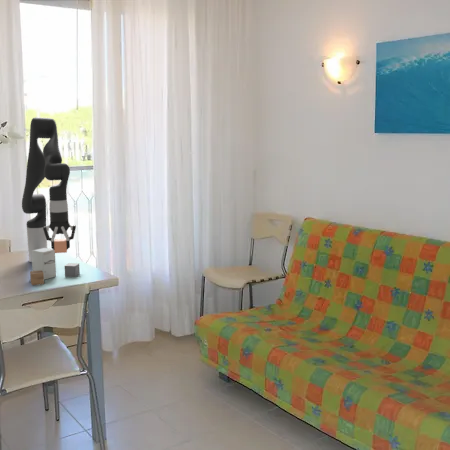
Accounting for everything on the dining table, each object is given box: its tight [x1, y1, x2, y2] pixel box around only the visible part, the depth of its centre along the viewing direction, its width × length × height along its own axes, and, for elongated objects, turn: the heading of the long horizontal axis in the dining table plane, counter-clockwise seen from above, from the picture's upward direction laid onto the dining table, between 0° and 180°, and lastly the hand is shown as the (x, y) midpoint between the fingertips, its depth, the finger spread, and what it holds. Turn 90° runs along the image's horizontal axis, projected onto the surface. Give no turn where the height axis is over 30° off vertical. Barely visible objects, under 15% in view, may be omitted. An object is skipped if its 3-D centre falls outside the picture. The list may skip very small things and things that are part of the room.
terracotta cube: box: [54, 238, 68, 254], centre depth 261 cm, size 5×5×5 cm
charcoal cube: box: [64, 262, 80, 278], centre depth 274 cm, size 5×5×5 cm
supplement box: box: [31, 247, 57, 281], centre depth 270 cm, size 7×7×13 cm
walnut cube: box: [29, 270, 45, 286], centre depth 261 cm, size 5×5×5 cm
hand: (60, 249), depth 262 cm, fingers closed on terracotta cube, 5 cm apart
